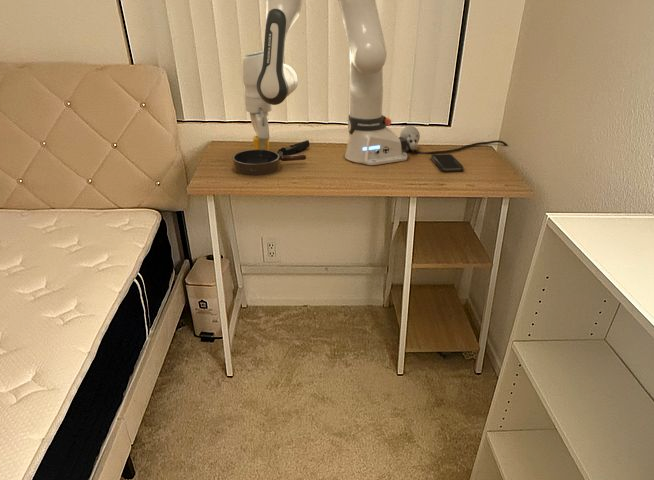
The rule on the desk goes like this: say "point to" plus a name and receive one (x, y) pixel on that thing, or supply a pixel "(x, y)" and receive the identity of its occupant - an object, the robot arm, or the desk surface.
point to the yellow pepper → (257, 143)
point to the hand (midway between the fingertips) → (261, 146)
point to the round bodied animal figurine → (410, 137)
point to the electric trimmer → (293, 148)
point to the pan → (256, 162)
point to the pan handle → (293, 157)
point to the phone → (447, 163)
